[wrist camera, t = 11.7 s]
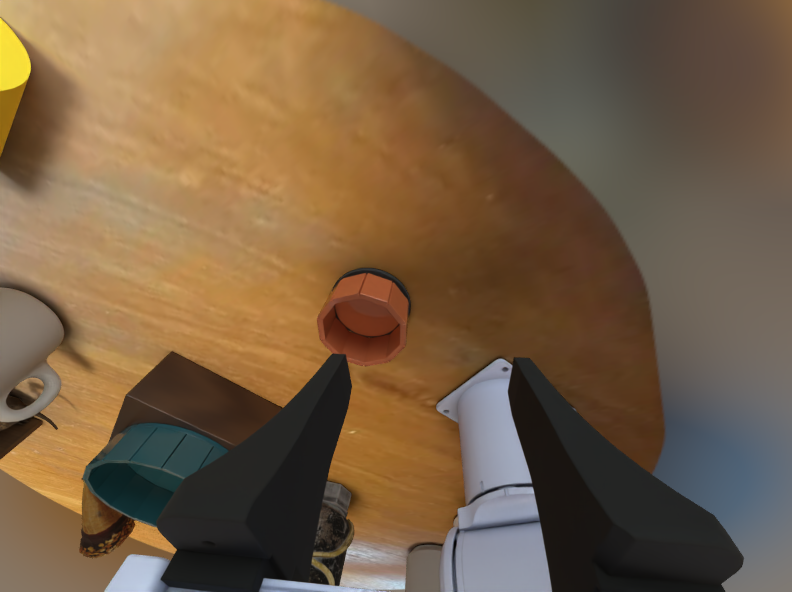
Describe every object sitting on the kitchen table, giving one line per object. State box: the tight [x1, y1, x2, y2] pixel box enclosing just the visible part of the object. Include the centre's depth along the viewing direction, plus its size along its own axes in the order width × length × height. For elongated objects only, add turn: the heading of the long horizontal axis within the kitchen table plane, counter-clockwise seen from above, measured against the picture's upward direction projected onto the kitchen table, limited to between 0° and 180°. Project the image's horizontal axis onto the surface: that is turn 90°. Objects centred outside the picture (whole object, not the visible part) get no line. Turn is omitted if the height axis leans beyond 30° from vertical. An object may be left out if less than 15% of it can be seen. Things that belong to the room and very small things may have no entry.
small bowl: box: [317, 273, 409, 366], centre depth 22 cm, size 6×6×3 cm
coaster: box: [332, 268, 411, 338], centre depth 23 cm, size 6×6×1 cm
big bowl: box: [83, 423, 229, 527], centre depth 27 cm, size 12×12×3 cm
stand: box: [108, 352, 283, 451], centre depth 31 cm, size 13×13×5 cm
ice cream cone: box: [79, 478, 135, 558], centre depth 43 cm, size 6×6×15 cm
